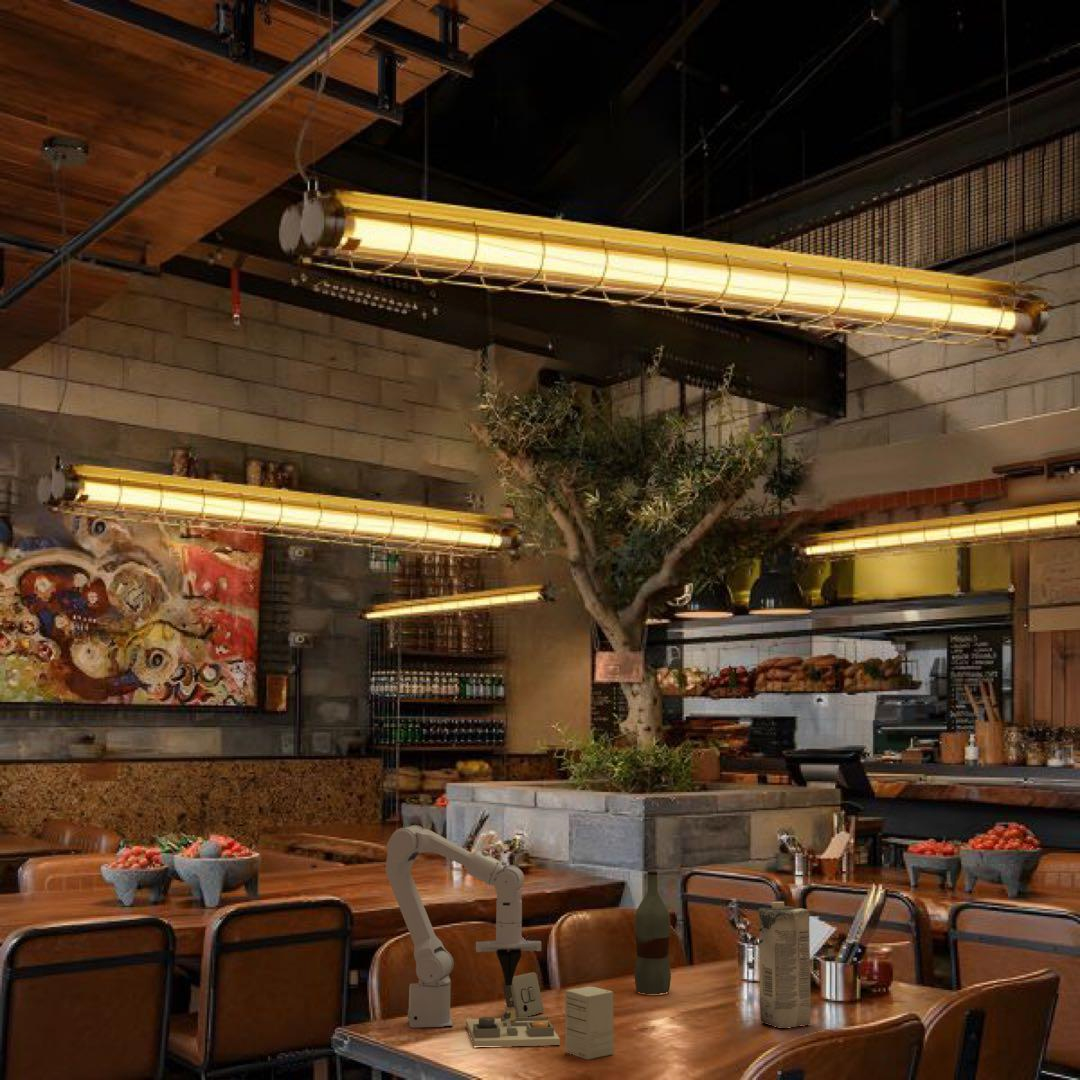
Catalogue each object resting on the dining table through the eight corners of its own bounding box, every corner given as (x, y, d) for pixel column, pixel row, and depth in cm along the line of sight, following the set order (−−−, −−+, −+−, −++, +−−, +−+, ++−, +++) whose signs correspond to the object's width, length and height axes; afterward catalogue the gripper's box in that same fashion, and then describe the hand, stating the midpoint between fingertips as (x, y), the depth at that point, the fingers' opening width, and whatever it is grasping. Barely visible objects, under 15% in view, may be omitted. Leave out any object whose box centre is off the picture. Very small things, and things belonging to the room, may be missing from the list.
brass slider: (506, 1023, 295) (506, 1010, 295) (504, 1020, 298) (504, 1007, 298) (515, 1023, 295) (515, 1010, 296) (513, 1020, 298) (513, 1007, 299)
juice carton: (816, 1026, 303) (814, 903, 307) (780, 1031, 298) (779, 906, 301) (790, 1018, 311) (788, 898, 314) (754, 1023, 305) (753, 901, 309)
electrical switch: (519, 1020, 307) (516, 978, 308) (501, 1019, 310) (499, 977, 312) (544, 1013, 314) (542, 972, 316) (527, 1012, 317) (525, 971, 319)
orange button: (533, 1032, 286) (533, 1024, 286) (531, 1028, 289) (531, 1020, 289) (549, 1031, 286) (549, 1024, 286) (546, 1028, 290) (546, 1020, 290)
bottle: (629, 989, 342) (629, 868, 346) (663, 988, 344) (663, 868, 348) (641, 997, 333) (641, 873, 337) (676, 995, 335) (675, 872, 339)
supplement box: (591, 1047, 282) (591, 985, 284) (614, 1054, 276) (614, 991, 278) (563, 1053, 277) (564, 989, 279) (587, 1060, 272) (587, 995, 273)
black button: (479, 1028, 284) (479, 1020, 284) (477, 1024, 288) (478, 1017, 288) (495, 1028, 285) (495, 1020, 285) (493, 1024, 288) (493, 1016, 288)
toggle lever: (507, 1034, 286) (503, 1013, 286) (506, 1032, 287) (502, 1011, 288) (514, 1032, 286) (510, 1011, 287) (513, 1030, 288) (509, 1009, 288)
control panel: (474, 1048, 280) (474, 1032, 281) (466, 1026, 300) (466, 1011, 300) (559, 1046, 283) (559, 1030, 283) (545, 1024, 303) (545, 1009, 303)
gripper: (478, 925, 296) (477, 988, 295) (543, 924, 298) (543, 987, 297) (475, 920, 303) (474, 982, 302) (539, 919, 305) (538, 981, 304)
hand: (508, 984), depth 300 cm, fingers closed
